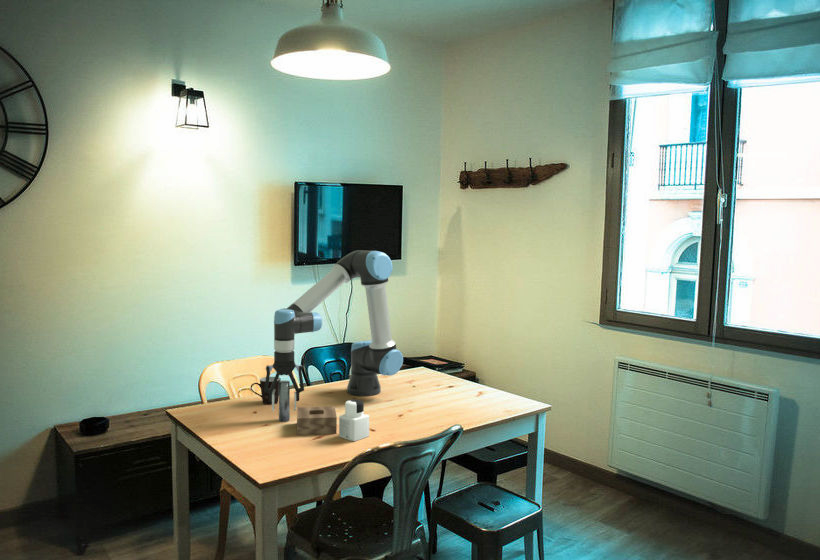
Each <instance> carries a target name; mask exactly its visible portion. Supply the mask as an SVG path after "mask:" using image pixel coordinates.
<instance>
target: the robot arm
mask: <svg viewBox="0 0 820 560" xmlns="http://www.w3.org/2000/svg"><path fill="white" fill-rule="evenodd" d="M392 272H393V263H392V260H391V258H390V256H389V255H387V253H385V252H382V251H378V250H362V249H359V250H358V249H357V250H354V251H352V252H350V253H348V254H346V255H345V256H343V257H342V258H341V259H340V260H338V261H337V262H336V263H335V264H333V265H332V269H331V270H330V271H328V273H326V275H324V276H323V277H322V278H320V280H318V281H317V282H316V283H314V285H312V286H311V287H310V288H309V289H308V290H307V291H306V292H304V293H303V294H302V295H301V296H300V297H298V298H297V299H296V300H295V301H294V302H293V303H291V304H290V305H289V306H287V308H280V309H277V310H275V311H274V315H273V316H274V317H273V334H274V335H273V336H274V337H273V338H274V339H273V348H274V349H273V350H274V352H273V364H271V365H268V364H267V365H266V366H265V371H266V376H265V377H266V381H265V388H264V392H267V393H269V402H272V404H271V412H274V411H275V404H274V392H273V389H274V387H275V385H276V382H277V380H278V378H280V376H288V377H289V379H290V381H291V383H292V385H293V388H294V390H295V391H294V392H293V393H294V395H293V399H294V400H293V404H294V405H293V410H294V411H297V402H299V401H300V393H301V392H305V385H304V379H303V365H302V364H296V361H295V351H294V350H295V335H296V334H304V333H306V334H307V333H315V332H319V331H320V330H321V329H322V326H323V318H322V315H321V314H320V313H319V312H313V311H314V310H315V309H316V308H317V307H318V306H319V305H320V304H322V303H323V302H324V301H325V300H326V299H327V298H329V296H331V295H332V294H333V293H334V292H335V291H336V290H337V289H339V288H340V287H341V286H343V284H344V283H345V284H348V283H349V282H350V281H352V280H353V279H357V278H360V285H361V286H363V287H364V289H365V297H366V303H367V304H366V305H367V311H368V321H369V329H370V336H371V339H370V340H359V341H355V342H353V343H352V344H351V349H350V368H351V369H350V377H349V380H348V384H347V386H346V392H347V393H348V394H349V395H353V396H358V397H359V396H360V397H364V396H365V397H366V396H376V395H379V394H380V393H381V391H382V390H381V384H380V381H379V377H378V374H379V375H382V376H389V377H390V376H394V375H396V374H398V372H399V371H400V369H401V368H402V367H403V363H404V356H403V354H402V352H401V351H400V350H399V349H397V342H396V341H395V340H394V339H393V338H392V337H393V336H392V331H391V321H390V313H389V305H388V296H387V287H386V285H387V284H388V282H389V278H390V276H392V274H391V273H392ZM295 369H296V371H297V373H298V379H299V380H298V381H299V385H300V387H299V386H298V383H297V381H296V378H295V376H294V374H293V371H294V370H295ZM273 370H274V371H275V376H274V377H275V378H274V380H273V383H272V385H271V387H270V389H268V384H269V377H271V372H272V371H273Z"/></svg>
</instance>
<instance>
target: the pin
mask: <svg viewBox="0 0 820 560" xmlns="http://www.w3.org/2000/svg"><path fill="white" fill-rule="evenodd" d="M290 381H291V380H281V381H279V399H278V422H280V423H287V422H289V421H290V416H291V414H290V413H291V412H290V411H291V410H290V406H291V405H290V403H291V402H290V400H291V398H290V397H291V395H290V388H291V385H290V384H291V383H290Z"/></svg>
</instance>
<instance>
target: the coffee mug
mask: <svg viewBox="0 0 820 560" xmlns="http://www.w3.org/2000/svg"><path fill="white" fill-rule="evenodd" d="M274 378H275V376H270V377H269V384H268V389H270V387H271V385H272V383H273V380H274ZM265 381H266V376H264V377H261V378H259V382H254V383H252V384H251V385H250V390H251V391H252V392H253V393H254V394H255V395H257V396H259V397H261V400H262V402H261V403H262V404H264V405H268V406H269V405H271V406H272V402H269V393H267V392H264V388H265ZM279 381H282V379H281V377H279V378H278V380H277V382H276V385H275V387H274V389H273V392H274V405H276V404H279ZM254 385H258V387H259V388H260V392H261V394H259V393H257V392H256V391H255V390H254V389H253V387H254Z"/></svg>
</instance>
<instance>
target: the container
mask: <svg viewBox="0 0 820 560" xmlns="http://www.w3.org/2000/svg"><path fill="white" fill-rule="evenodd" d="M364 405H365V403H364V401H363V400H360V399H356V398H355V399H353V398H352V399H349V400H348V399H347V401H346V402H345V404H344V414H341V415H339V417H338V418H339V419H338V420H339V421H338V424H339V426H338V436H339V438H342V439H345V440H348V441H351V442H357V441H360V440H363V439H365V438H368V437H370V415H369V414H365V413H364V412H365V411H364V410H365V409H364V408H365V406H364Z"/></svg>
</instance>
